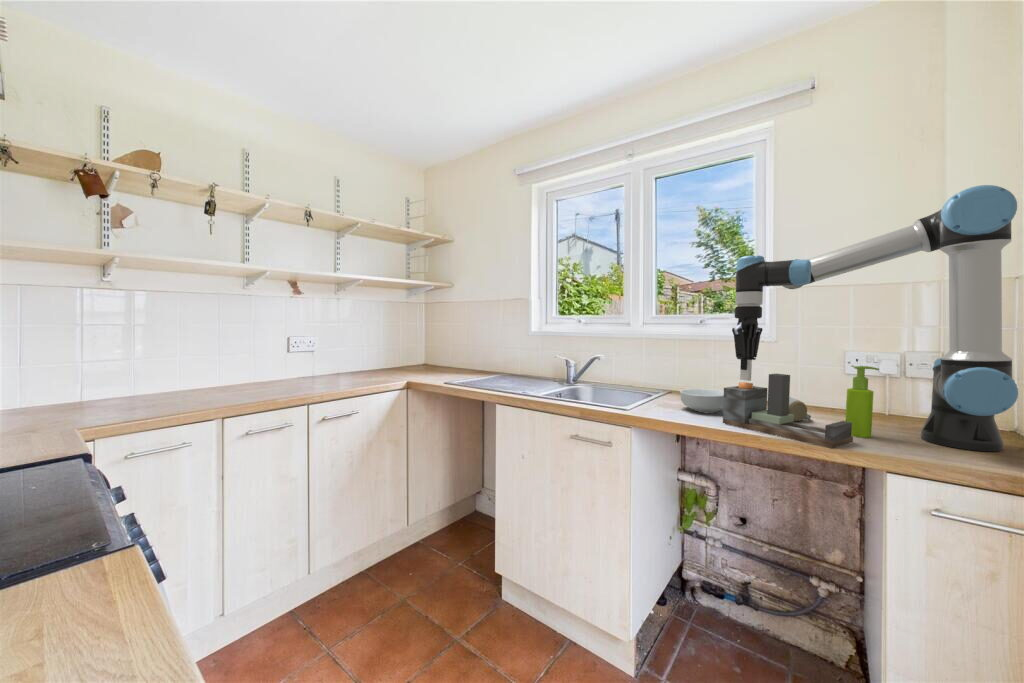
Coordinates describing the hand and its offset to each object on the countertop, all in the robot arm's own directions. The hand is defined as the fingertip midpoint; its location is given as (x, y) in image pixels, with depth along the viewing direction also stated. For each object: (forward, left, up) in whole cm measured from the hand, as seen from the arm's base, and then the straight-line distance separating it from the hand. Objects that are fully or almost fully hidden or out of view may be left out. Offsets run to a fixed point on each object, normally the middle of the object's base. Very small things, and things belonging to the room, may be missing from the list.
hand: (745, 380), depth 133 cm
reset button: (0, 0, -4) cm, 4 cm away
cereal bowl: (+18, -6, -14) cm, 24 cm away
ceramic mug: (-4, -20, -14) cm, 25 cm away
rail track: (-12, 0, -14) cm, 18 cm away
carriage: (-9, 0, -11) cm, 14 cm away
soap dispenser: (-25, -16, -14) cm, 33 cm away
